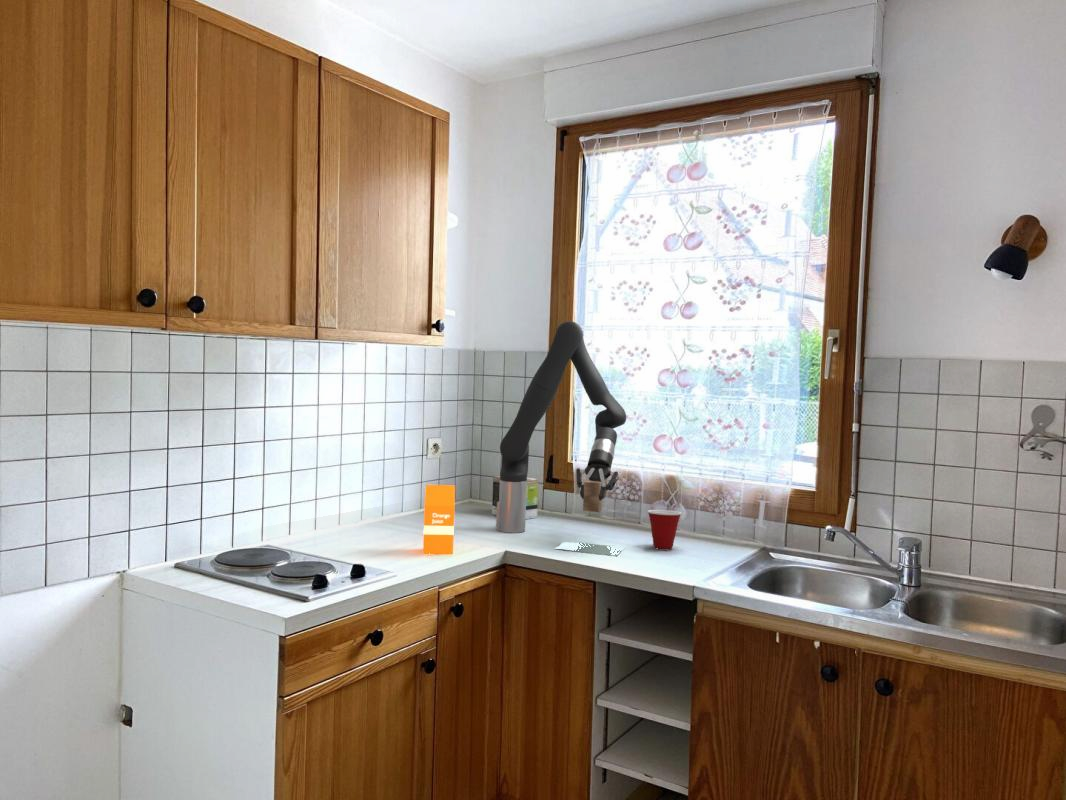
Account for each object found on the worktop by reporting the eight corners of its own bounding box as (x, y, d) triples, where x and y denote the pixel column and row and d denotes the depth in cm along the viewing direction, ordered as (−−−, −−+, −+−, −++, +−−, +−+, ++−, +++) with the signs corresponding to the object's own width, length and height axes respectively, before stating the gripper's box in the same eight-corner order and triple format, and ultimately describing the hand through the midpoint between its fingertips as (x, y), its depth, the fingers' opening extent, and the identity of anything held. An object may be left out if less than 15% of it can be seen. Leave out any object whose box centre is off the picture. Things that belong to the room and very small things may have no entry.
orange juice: (424, 548, 237) (426, 482, 236) (453, 548, 238) (455, 483, 237) (422, 554, 229) (424, 486, 228) (453, 555, 230) (455, 487, 229)
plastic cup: (678, 545, 254) (680, 508, 254) (681, 552, 243) (683, 514, 243) (645, 543, 255) (646, 506, 255) (646, 550, 244) (648, 512, 244)
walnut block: (582, 510, 244) (584, 481, 244) (585, 508, 248) (587, 480, 248) (598, 512, 243) (599, 483, 242) (601, 510, 246) (602, 481, 246)
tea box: (538, 517, 292) (539, 478, 292) (519, 521, 285) (520, 480, 284) (509, 511, 303) (511, 473, 302) (490, 514, 295) (492, 475, 295)
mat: (553, 549, 242) (553, 548, 242) (564, 541, 253) (564, 540, 253) (616, 556, 236) (616, 555, 236) (625, 548, 247) (625, 547, 247)
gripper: (578, 446, 254) (567, 488, 243) (622, 450, 249) (612, 492, 238) (581, 461, 259) (570, 503, 248) (624, 464, 255) (615, 507, 244)
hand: (591, 497), depth 243 cm, fingers closed on walnut block, 5 cm apart
